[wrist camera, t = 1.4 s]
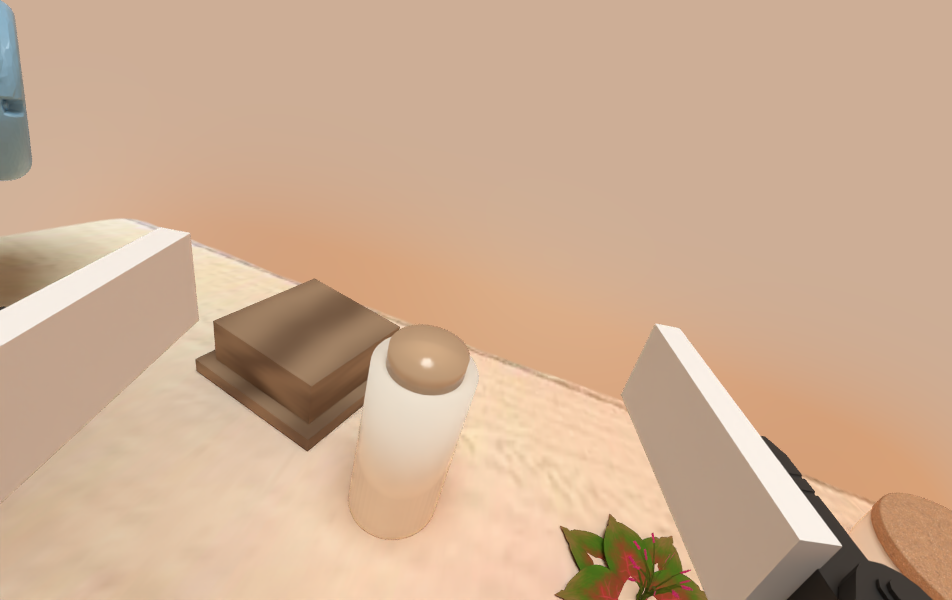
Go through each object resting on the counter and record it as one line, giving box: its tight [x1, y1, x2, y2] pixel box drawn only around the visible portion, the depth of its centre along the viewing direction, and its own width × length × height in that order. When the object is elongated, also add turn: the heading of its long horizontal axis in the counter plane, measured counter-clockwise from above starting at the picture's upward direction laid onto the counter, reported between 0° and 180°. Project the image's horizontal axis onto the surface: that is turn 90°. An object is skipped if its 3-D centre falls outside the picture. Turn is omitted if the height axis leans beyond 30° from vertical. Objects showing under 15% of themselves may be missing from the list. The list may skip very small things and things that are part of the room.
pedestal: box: [196, 279, 400, 451], centre depth 37 cm, size 12×12×5 cm
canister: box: [348, 325, 479, 540], centre depth 27 cm, size 6×6×13 cm
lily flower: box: [555, 514, 708, 600], centre depth 28 cm, size 12×12×5 cm
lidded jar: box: [848, 493, 952, 600], centre depth 29 cm, size 11×11×9 cm
